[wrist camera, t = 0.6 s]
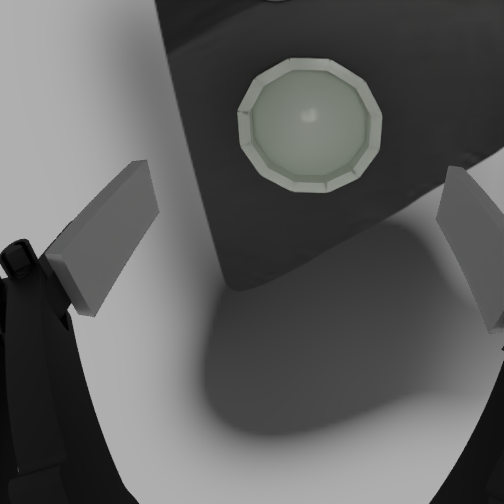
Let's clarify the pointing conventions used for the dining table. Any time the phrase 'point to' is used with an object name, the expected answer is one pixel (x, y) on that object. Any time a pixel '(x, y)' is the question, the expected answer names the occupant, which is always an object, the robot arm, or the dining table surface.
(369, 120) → the dish
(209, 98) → the dining table surface
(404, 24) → the dining table surface
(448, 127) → the dining table surface
